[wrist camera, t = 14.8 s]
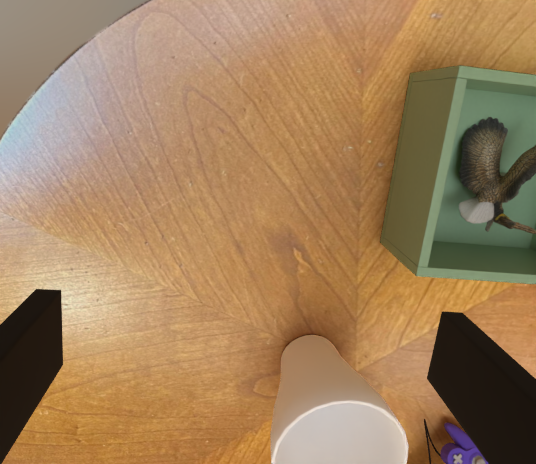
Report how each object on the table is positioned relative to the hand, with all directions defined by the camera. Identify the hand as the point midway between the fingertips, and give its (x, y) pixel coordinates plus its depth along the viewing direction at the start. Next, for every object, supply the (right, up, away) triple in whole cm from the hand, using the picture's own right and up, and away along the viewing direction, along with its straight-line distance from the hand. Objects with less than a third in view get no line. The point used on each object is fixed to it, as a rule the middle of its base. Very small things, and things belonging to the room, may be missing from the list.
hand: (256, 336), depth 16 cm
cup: (+5, -10, +31) cm, 33 cm away
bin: (+20, +9, +27) cm, 35 cm away
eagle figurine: (+20, +9, +26) cm, 35 cm away
